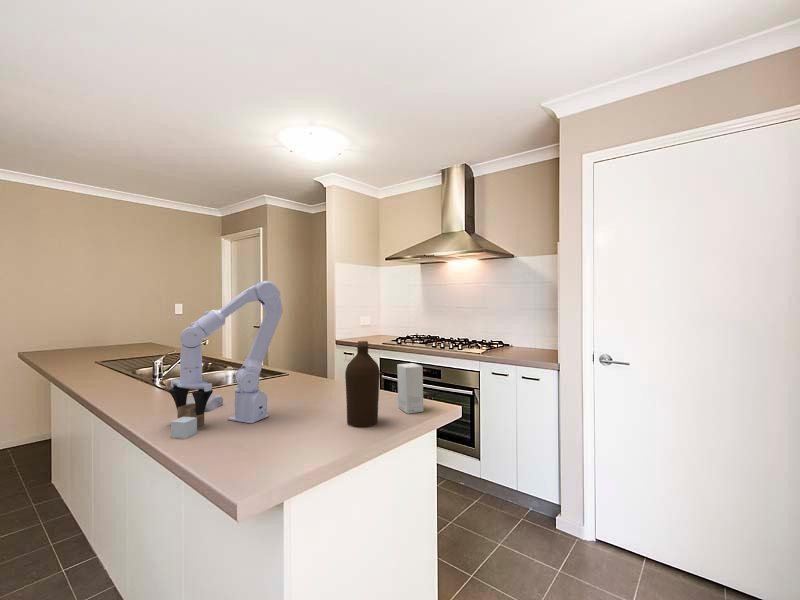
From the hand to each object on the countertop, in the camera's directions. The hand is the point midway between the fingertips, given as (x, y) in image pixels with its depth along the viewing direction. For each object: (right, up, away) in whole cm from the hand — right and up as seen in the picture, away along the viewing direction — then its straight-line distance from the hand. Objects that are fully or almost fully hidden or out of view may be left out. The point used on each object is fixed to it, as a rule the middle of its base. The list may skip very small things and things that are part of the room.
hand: (190, 412), depth 115 cm
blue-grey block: (+2, -4, -8) cm, 9 cm away
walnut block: (0, -4, 0) cm, 4 cm away
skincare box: (+66, -4, +17) cm, 68 cm away
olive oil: (+51, -4, +4) cm, 51 cm away
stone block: (-7, -4, +19) cm, 21 cm away
